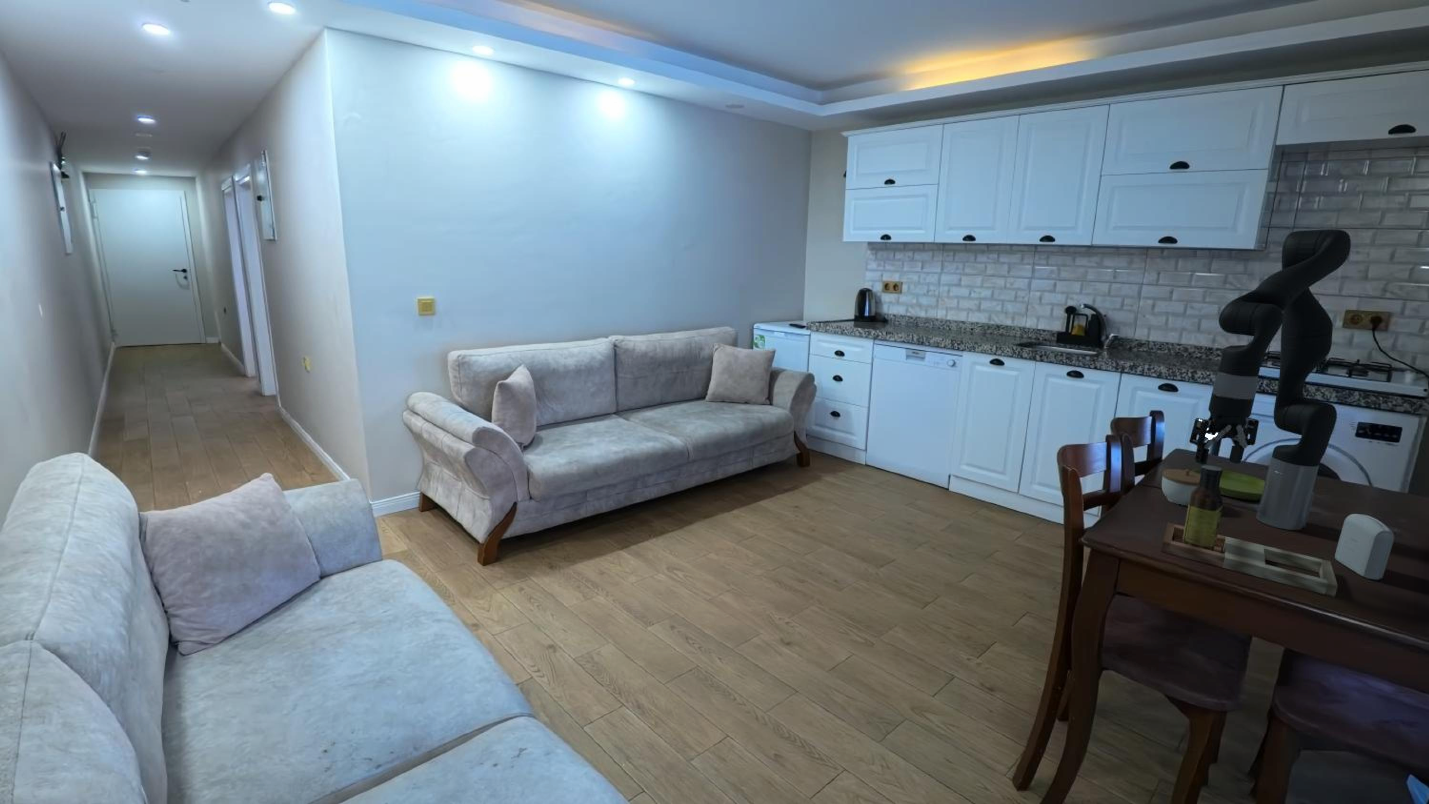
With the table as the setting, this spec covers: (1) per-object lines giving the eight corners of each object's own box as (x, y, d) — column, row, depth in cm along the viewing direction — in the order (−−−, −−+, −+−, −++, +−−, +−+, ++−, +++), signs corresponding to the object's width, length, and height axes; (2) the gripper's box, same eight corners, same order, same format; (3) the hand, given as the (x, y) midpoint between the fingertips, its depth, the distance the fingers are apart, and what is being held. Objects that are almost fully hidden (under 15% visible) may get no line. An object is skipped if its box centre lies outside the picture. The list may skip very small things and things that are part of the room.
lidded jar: (1188, 511, 176) (1195, 478, 174) (1148, 496, 186) (1155, 465, 183) (1212, 506, 180) (1220, 474, 178) (1172, 492, 190) (1179, 461, 188)
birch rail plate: (1327, 571, 145) (1330, 561, 144) (1334, 596, 134) (1337, 586, 134) (1165, 531, 163) (1167, 522, 162) (1160, 551, 152) (1163, 541, 151)
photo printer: (1329, 557, 152) (1344, 508, 149) (1351, 559, 151) (1366, 510, 148) (1362, 579, 142) (1378, 526, 139) (1385, 581, 141) (1402, 529, 138)
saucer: (1295, 505, 184) (1298, 494, 183) (1222, 502, 184) (1225, 492, 183) (1238, 479, 204) (1241, 469, 203) (1172, 476, 204) (1175, 466, 203)
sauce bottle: (1219, 555, 150) (1237, 474, 145) (1188, 552, 151) (1205, 471, 146) (1204, 543, 156) (1221, 464, 151) (1175, 540, 157) (1191, 462, 152)
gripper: (1246, 389, 149) (1230, 457, 153) (1190, 389, 147) (1175, 458, 151) (1277, 397, 141) (1260, 468, 145) (1219, 397, 140) (1203, 469, 144)
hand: (1217, 462), depth 148 cm, fingers open, 8 cm apart
